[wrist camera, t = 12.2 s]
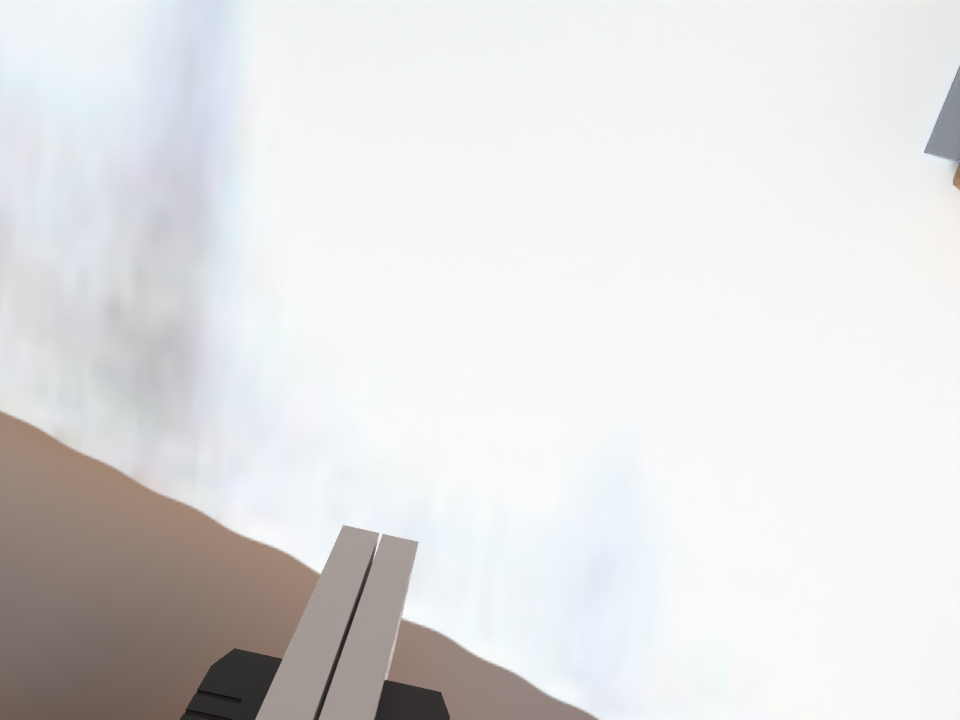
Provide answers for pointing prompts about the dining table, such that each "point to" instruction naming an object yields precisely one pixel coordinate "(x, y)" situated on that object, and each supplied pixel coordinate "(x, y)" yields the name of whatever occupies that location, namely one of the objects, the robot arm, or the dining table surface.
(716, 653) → the dining table surface
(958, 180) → the wooden block
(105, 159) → the dining table surface
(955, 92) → the mat
